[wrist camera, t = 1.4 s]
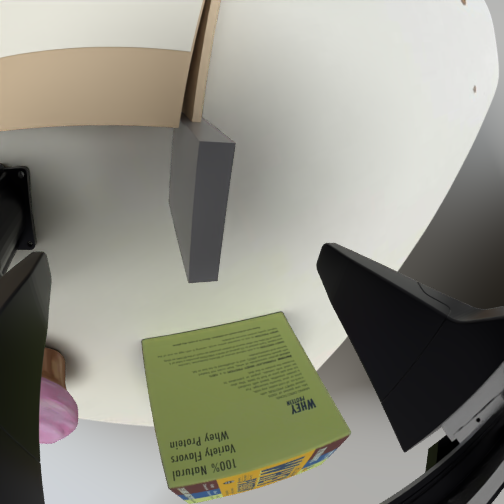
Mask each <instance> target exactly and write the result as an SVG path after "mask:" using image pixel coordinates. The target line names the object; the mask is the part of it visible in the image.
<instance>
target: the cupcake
mask: <svg viewBox="0 0 504 504" xmlns="http://www.w3.org/2000/svg"><path fill="white" fill-rule="evenodd" d="M77 424H78V407H77V404H76V402H75V401H74V399H73V397H72V396H71V395H70V394H69V392H68V391H67V389H66V385H65V359H64V357H63V356H62V355H61V354H60V353H59V352H58V351H56V350H53V349H49V348H46V347H45V349H44V357H43V366H42V377H41V390H40V412H39V443H45V444H52V443H55V442H57V441H58V440H61V439H63V438H64V437H66V436H68V435H69V434H70V433H71V432H73V431H74V430H75V429H76V427H77Z"/></svg>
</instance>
